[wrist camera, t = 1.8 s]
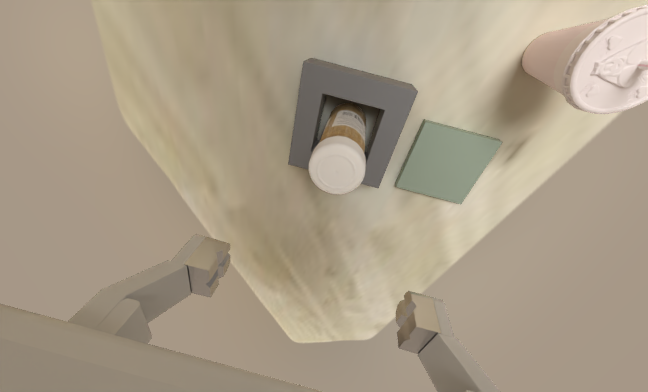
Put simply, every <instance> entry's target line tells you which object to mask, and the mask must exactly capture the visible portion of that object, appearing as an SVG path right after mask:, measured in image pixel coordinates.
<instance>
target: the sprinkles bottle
mask: <svg viewBox="0 0 648 392" xmlns="http://www.w3.org/2000/svg"><path fill="white" fill-rule="evenodd" d="M365 126H366V117H365V114H364V112H363V111H362V110H361V109H360V107H358V106H357V105H355V104H351V103H344V104H341V105H338V106H337V107H335V108H334V110H333V111H332V112H331V115H330V117H329V120H328V122H327V124H326V126H325V129H324V132H323V135H322V137H321V140H320V142H319V144H318V145H317V146H316V147H315V149H314V151H313V153H312V155H311V158H310V161H309V174H310V177H311V179H312V181H313V182H314V184H315V185H316V186H317V187H318V188H320V189H321V190H323V191H325V192H327V193H330V194H336V195H340V194H346V193H349V192H352V191H353V190H355V189H356V188H357V187H358V186H359V185H360V184H361V182H362V181H363V179H364V176H365V169H366V159H365V155H364V151H365Z"/></svg>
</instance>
